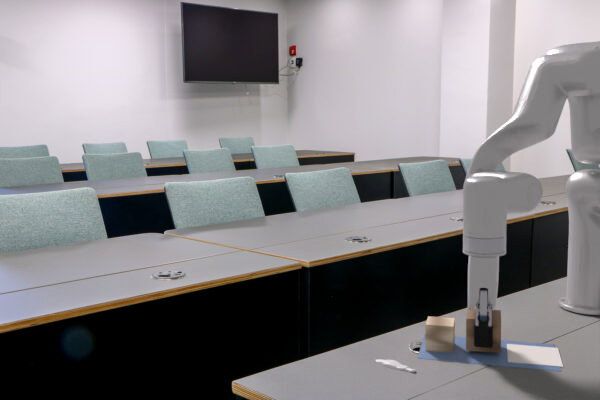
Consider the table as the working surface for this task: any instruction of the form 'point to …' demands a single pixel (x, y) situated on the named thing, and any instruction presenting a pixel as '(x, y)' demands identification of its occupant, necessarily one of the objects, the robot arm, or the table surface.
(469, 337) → the walnut cube
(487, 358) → the board
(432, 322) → the maple cube
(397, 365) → the stylus pen
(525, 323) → the table surface
